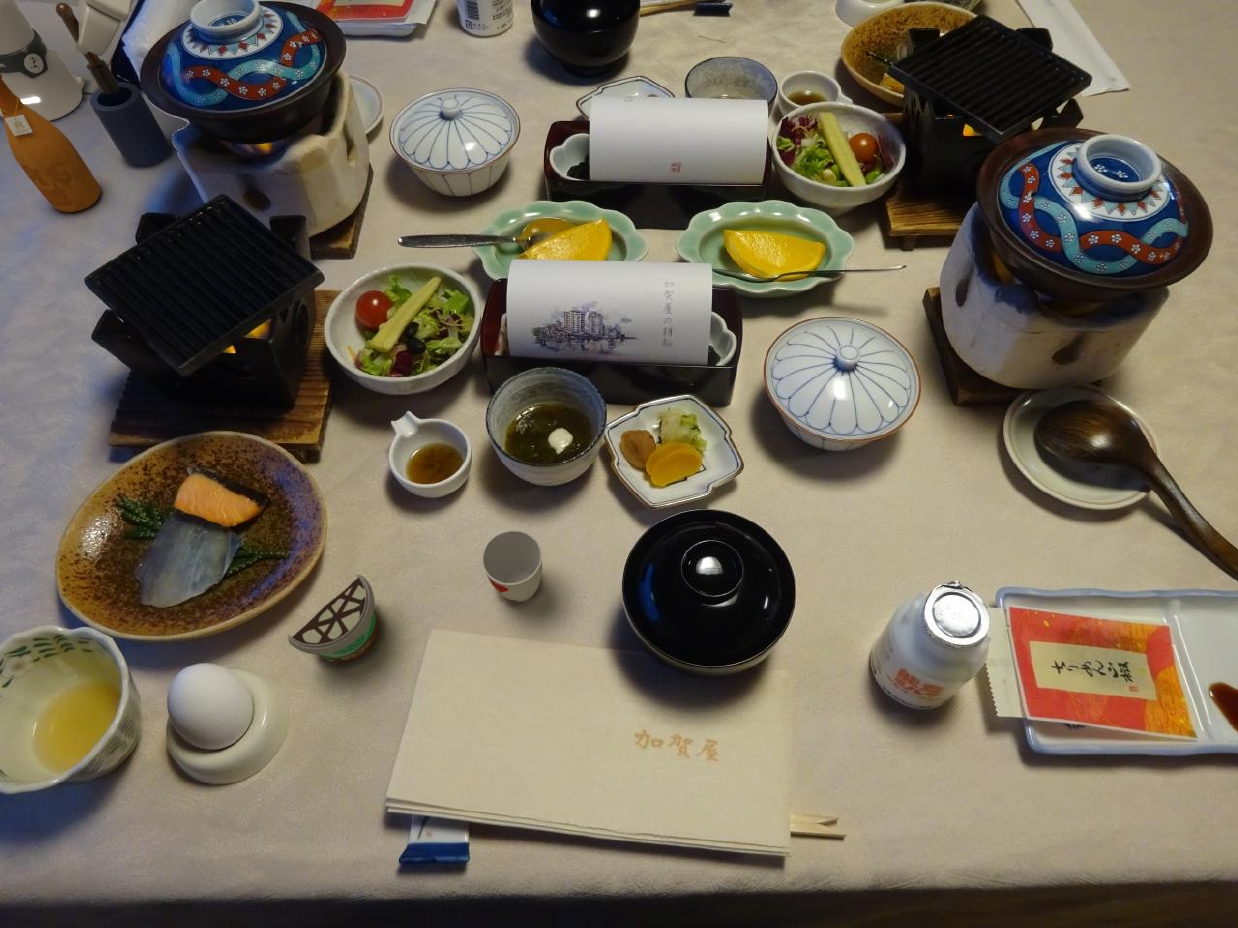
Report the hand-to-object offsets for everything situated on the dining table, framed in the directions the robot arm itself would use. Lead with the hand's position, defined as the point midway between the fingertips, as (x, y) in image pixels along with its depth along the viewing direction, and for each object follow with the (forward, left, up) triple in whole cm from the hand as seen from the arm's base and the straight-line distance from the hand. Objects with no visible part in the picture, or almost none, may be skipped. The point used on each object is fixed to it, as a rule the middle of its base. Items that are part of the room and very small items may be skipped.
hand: (80, 45), depth 145 cm
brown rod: (0, +1, -9) cm, 9 cm away
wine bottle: (0, -17, -24) cm, 29 cm away
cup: (+123, -37, -24) cm, 131 cm away
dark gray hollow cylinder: (0, +1, -23) cm, 23 cm away
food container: (+109, -56, -24) cm, 125 cm away
